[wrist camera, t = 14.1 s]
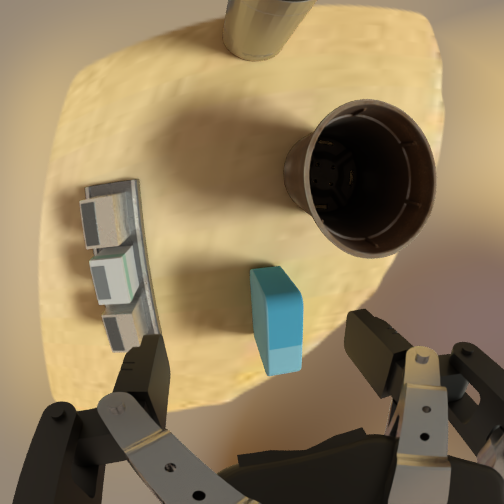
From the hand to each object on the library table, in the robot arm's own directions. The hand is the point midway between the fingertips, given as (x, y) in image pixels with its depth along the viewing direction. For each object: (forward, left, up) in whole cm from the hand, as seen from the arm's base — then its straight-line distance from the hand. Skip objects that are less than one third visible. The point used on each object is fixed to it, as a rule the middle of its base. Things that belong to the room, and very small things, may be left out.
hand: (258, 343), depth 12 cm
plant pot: (-6, +15, -30) cm, 34 cm away
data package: (+13, +6, -30) cm, 34 cm away
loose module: (+5, -15, -29) cm, 33 cm away
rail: (+5, -15, -30) cm, 34 cm away
